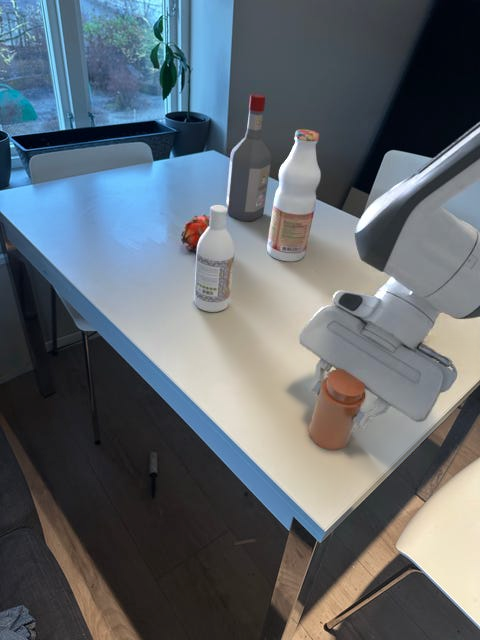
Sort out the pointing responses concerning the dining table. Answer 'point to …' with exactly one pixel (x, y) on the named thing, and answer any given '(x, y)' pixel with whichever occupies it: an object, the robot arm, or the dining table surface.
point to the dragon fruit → (194, 231)
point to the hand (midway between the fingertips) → (335, 408)
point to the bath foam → (214, 263)
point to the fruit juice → (295, 199)
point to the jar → (336, 409)
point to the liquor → (249, 168)
